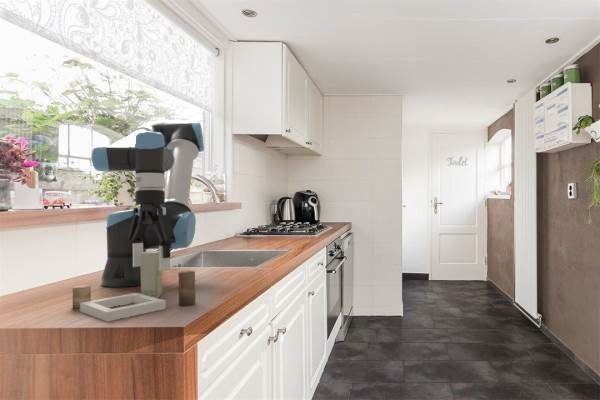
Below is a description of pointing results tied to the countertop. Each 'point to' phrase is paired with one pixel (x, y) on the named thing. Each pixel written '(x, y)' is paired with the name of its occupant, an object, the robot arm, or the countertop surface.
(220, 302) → the countertop surface
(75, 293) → the short oak dowel
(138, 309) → the white square frame
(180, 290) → the mid walnut dowel
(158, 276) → the skincare box
